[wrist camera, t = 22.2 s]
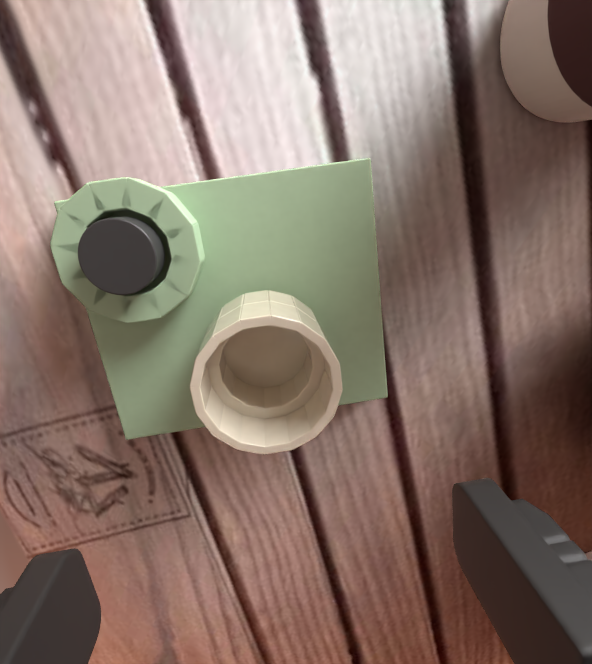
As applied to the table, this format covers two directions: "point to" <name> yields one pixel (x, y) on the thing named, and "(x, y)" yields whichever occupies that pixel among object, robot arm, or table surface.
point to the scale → (229, 277)
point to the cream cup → (265, 374)
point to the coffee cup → (549, 57)
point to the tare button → (121, 255)
